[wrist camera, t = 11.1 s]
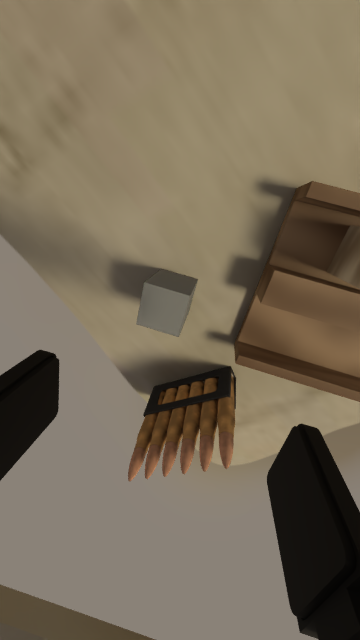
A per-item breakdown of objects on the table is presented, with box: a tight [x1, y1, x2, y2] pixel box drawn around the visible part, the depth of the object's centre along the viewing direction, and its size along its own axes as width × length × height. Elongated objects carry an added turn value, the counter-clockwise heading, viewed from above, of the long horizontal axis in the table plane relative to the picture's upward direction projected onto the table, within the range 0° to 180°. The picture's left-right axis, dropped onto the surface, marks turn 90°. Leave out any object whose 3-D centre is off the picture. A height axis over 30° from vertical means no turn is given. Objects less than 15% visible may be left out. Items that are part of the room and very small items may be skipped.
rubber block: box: [136, 269, 198, 337], centre depth 23 cm, size 4×4×6 cm
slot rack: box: [234, 181, 360, 402], centre depth 21 cm, size 16×14×4 cm
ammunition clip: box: [128, 366, 236, 481], centre depth 25 cm, size 11×2×12 cm, turn 114°
